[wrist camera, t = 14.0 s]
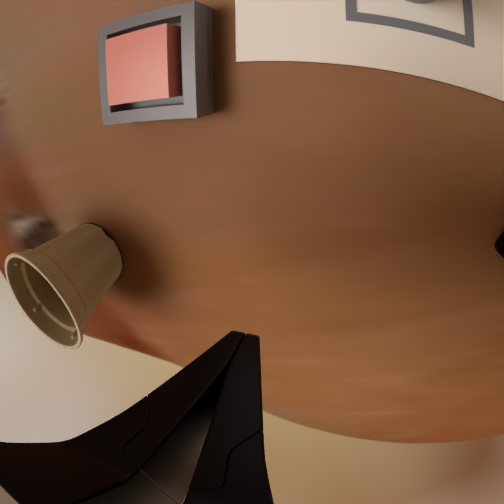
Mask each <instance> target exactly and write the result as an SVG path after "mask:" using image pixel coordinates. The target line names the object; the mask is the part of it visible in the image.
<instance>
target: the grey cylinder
mask: <svg viewBox="0 0 504 504" xmlns="http://www.w3.org/2000/svg"><path fill="white" fill-rule="evenodd" d="M406 1H409V2H413V3H420V4H423V3H430V2H433V1H435V0H406Z"/></svg>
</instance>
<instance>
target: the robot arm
mask: <svg viewBox="0 0 504 504" xmlns="http://www.w3.org/2000/svg"><path fill="white" fill-rule="evenodd" d="M502 244H503V246H502V247H500V246H501V245H502ZM495 248H496V250H497V251H498V253H499V254H500V255H501V256H502V257H503V258H504V232H503V233H502V234H501V236H500V237H499V238H498V240H497V241H496V243H495ZM185 496H186V498H185ZM184 498H185V500H184ZM183 500H184V502H183ZM182 502H183V504H274V503H273V498H272V493H271V489H270V484H269V479H268V474H267V468H266V462H265V453H264V435H263V412H262V387H261V362H260V338H259V336H258V335H253V334H246V335H245V333H243V332H238V331H231V332H230V333H228V334H227V335H226V336H225V337H223V338H222V339H221V340H219V341H218V342H217V343H216V344H214V345H213V346H212V347H211V348H209V349H208V350H207V351H205V352H204V353H203V354H202V355H200V356H199V357H198V358H196V359H195V360H194V361H192V362H191V363H190V364H189V365H187V366H186V367H185V368H183V369H182V370H181V371H179V372H178V373H177V374H175V375H174V376H173V377H172V378H170V379H169V380H167V381H166V382H165V383H163V384H162V385H161V386H160V387H158V388H157V389H155V390H154V391H152V392H151V393H150V394H148V397H147V396H145V397H144V398H143V399H141V400H140V401H139V402H137V403H136V404H134V405H133V406H131V407H130V408H128V409H127V410H125V411H124V412H122V413H120V414H119V415H117V416H115V417H114V418H112V419H110V420H108V421H106V422H105V423H103V424H101V425H99V426H97V427H95V428H93V429H91V430H89V431H87V432H85V433H83V434H82V435H79V436H77V437H75V438H73V439H70V440H66V441H62V442H53V443H6V442H0V504H182Z"/></svg>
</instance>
